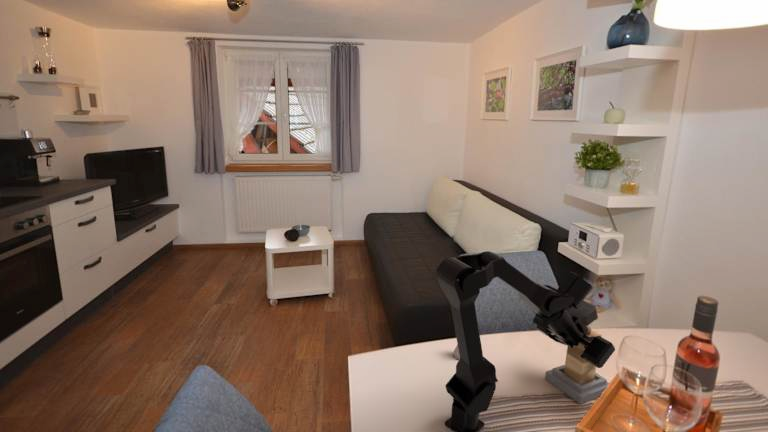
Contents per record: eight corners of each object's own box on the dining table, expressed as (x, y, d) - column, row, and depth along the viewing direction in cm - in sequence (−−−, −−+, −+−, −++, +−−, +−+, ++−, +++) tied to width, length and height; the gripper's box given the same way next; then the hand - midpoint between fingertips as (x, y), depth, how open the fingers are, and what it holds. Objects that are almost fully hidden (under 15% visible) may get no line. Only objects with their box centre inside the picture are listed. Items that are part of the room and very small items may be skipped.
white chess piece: (469, 361, 117) (471, 335, 115) (452, 359, 118) (454, 333, 116) (469, 353, 121) (471, 327, 119) (453, 351, 122) (455, 325, 120)
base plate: (580, 404, 101) (582, 392, 100) (545, 378, 110) (546, 367, 110) (611, 392, 105) (613, 381, 105) (574, 368, 115) (576, 357, 114)
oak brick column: (579, 386, 104) (587, 334, 101) (563, 375, 109) (570, 325, 105) (593, 381, 106) (602, 330, 103) (577, 370, 111) (584, 321, 107)
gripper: (616, 311, 92) (640, 346, 99) (550, 280, 108) (574, 312, 115) (585, 351, 90) (612, 383, 98) (523, 313, 107) (550, 343, 114)
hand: (586, 352), depth 106 cm, fingers open, 6 cm apart
